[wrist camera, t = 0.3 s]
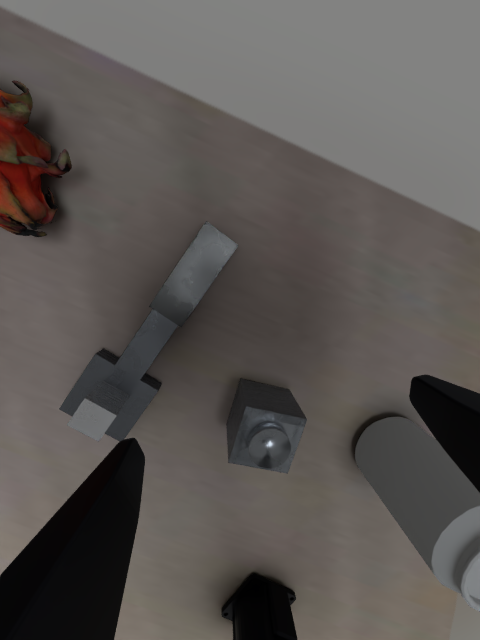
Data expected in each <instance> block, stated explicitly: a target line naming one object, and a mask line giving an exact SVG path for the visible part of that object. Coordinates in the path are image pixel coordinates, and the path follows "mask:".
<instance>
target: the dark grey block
mask: <svg viewBox="0 0 480 640" xmlns="http://www.w3.org/2000/svg"><path fill="white" fill-rule="evenodd" d="M306 421H307V418H306V417H305V415H304V413H303V412H302V410H301V408H300V407H299V405H298V403H297V402H296V400H295V398H294V397H293V395H292V393H291V391H290V390H289V389H285V388H281V387H276V386H272V385H268V384H263V383H259V382H255V381H250V380H246V379H242V378H240V381H239V384H238V388H237V391H236V394H235V398H234V401H233V404H232V408H231V411H230V414H229V418H228V421H227V424H226V425H227V444H228V463H233V464H238V465H244V466H249V467H255V468H260V469H266V470H271V471H277V472H282V473H288V471H289V468H290V465H291V463H292V460H293V457H294V454H295V452H296V449H297V446H298V443H299V441H300V438H301V435H302V432H303V430H304V427H305V424H306Z"/></svg>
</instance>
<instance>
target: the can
mask: <svg viewBox="0 0 480 640" xmlns="http://www.w3.org/2000/svg"><path fill="white" fill-rule="evenodd" d="M355 460H356V463H357V466H358V468H359V469H360V471H361V472H362V473H363V475H364V476H365V478H366V479H367V480H368V482H369V483H370V485H371V486H372V487H373V489H374V490H375V492H376V493H377V495H378V496H379V497H380V499H381V500H382V502H383V503H384V504H385V506H386V507H387V509H388V510H389V511H390V513H391V514H392V516H393V517H394V519H395V520H396V521H397V523H398V524H399V526H400V527H401V528H402V530H403V531H404V533H405V534H406V535H407V537H408V538H409V540H410V541H411V543H412V544H413V545H414V547H415V548H416V550H417V551H418V552H419V554H420V555H421V557H422V558H423V559H424V561H425V562H426V564H427V565H428V567H429V568H430V569H431V571H432V572H433V574H434V575H435V576H436V578H437V579H438V580H439V581H440V583H441V584H442V585H444V586H446V587H448V588H450V589H452V590H454V591H456V592H458V593H461V595H462V597H463V598H464V599H465V601H466V602H467V604H468V605H469V606H470V607H472V608H474V609H476V610H477V611H479V612H480V493H479V491H478V490H477V489H476V488H475V487H474V485H473V484H472V483H471V482H470V481H469V479H468V478H467V477H466V476H465V475H464V473H463V472H462V471H461V470H460V469H459V467H458V466H457V465H456V464H455V463H454V461H453V460H452V459H451V458H450V457H449V455H448V454H447V453H446V452H445V450H444V449H443V448H442V446H441V445H440V444H439V442H438V441H437V440H436V439H435V438H433V437H432V436H431V435H430V434H428V433H427V432H426V431H424V430H423V429H422V428H421V427H419V426H418V425H417V424H415V423H414V422H412V421H411V420H409V419H406V418H402V417H387V418H385V419H382V420H379V421H376V422H374V423H373V424H371V425H370V426H368V427H367V428H366V429H365V430H364V432H363V433H362V434H361V436H360V438H359V440H358V443H357V445H356V449H355Z"/></svg>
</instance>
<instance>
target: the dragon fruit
mask: <svg viewBox="0 0 480 640" xmlns="http://www.w3.org/2000/svg"><path fill="white" fill-rule="evenodd" d="M12 82H13V83H14V84H15V85H16V86H17V87H18V88H19V89H21V90H22V91H23V92H24V93H22V94H20V95H13V94H7V93H5V92H4V91H2V90H1V89H0V227H2V228H4V229H6V230H7V231H9V232H11V233H13V234H16V235H23V236H29V235H32V236H35V237H41V236H45V235H47V234H46V233H45V232H38V231H34V230H37V229H41V228H38V227H40V226H42V225H43V224H48V223H50V222H51V220H52V219H53V217H54V214H55V212H56V210H57V209H58V207H57V206H56V205H55V203H54V197H53V194H52V193H51V191H50V189H49V187H48V192H49V193H48V194H49V195H50V197H49V196H48V195H47V194H45V196H46V201H45V197H44V195H43V193H42V190H41V178H40V175H41V174H43V173H47V174H48V175H50V176H53V177H57V178H62V176H58V175H63V174H65V173H67V172H69V171H70V169H71V168H72V165H71V161H70V157H69V154H68V152H67V150H66V149H64V150H63V151H62V152H61V153H60V155H59V157H58V160H57V161H56V162H55V163H46V162H45V161H49V160H50V159H51V145H50V144H49V143H48V142H47V141H45V140H44V139H43V138H42V137H41V136H40V135H38V134H37V133H34V132H31V131H30V130H29V129H27V128H26V127H25V126H24V124H27V123H28V121H29V116H30V114H31V112H30V111H31V109H32V98H31V95H30V93H29V90H28V88H26V86H25V85H24V84H22V83H21V82H18V81H12ZM46 202H47V203H46ZM55 222H56V221H55ZM21 223H24V224H27V225H28V226H30V227H31V228H32V229H33V230H28V229H27V227H25V226H24V225H22V224H21ZM40 223H41V224H40ZM51 223H53V222H51Z"/></svg>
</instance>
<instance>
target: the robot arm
mask: <svg viewBox="0 0 480 640" xmlns="http://www.w3.org/2000/svg"><path fill="white" fill-rule="evenodd" d="M409 397H410V401H411V403H412V405H413V406H414V408H415V409H416V411H417V412H418V414H419V415H420V417H421V418H422V419H423V421H424V422H425V424H426V425H427V427H428V428H429V429H430V431H431V432H432V434H433V435H434V437H435V438H436V440H437V441H438V442H439V444H440V445H441V446H442V448H443V449H444V450H445V452H446V453H447V454H448V455H449V457H450V458H451V459H452V460H453V461H454V463H455V464H456V465H457V466H458V467H459V469H460V470H461V471H462V472H463V473H464V475H465V476H466V477H467V478H468V479H469V481H470V482H471V483H472V484H473V485H474V487H475V488H476V489H477V490H478V491H479V493H480V394H479V393H477V392H474V391H471V390H468V389H466V388H463V387H460V386H457V385H455V384H452V383H449V382H446V381H444V380H441V379H438V378H435V377H433V376H430V375H421V376H416V377H413V379H412V381H411V388H410V395H409ZM144 466H145V456H144V453H143V451H142V449H141V448H140V446H139V444H138V442H137V440H136V439H135V438H129V439H124V440H121V441H120V442H119V443H118V444H117V445H116V446H115V447H114V448H113V450H112V451H111V452H110V453H109V454H108V455H107V456H106V457H105V459H104V460H103V461H102V462H101V463H100V464H99V465H98V466H97V468H96V469H95V470H94V471H93V472H92V473H91V474H90V475H89V476H88V478H87V479H86V480H85V481H84V482H83V483H82V484H81V485H80V487H79V488H78V489H77V490H76V491H75V492H74V493H73V494H72V495H71V497H70V498H69V499H68V500H67V501H66V502H65V503H64V504H63V506H62V507H61V508H60V509H59V510H58V511H57V512H56V513H55V515H54V516H53V517H52V518H51V519H50V520H49V521H48V522H47V523H46V525H45V526H44V527H43V528H42V529H41V530H40V531H39V532H38V534H37V535H36V536H35V537H34V538H33V539H32V540H31V541H30V542H29V544H28V545H27V546H26V547H25V548H24V549H23V550H22V551H21V553H20V554H19V555H18V556H17V557H16V558H15V559H14V560H13V562H12V563H11V564H10V565H9V566H8V567H7V568H6V569H5V570H4V572H3V573H2V574H1V575H0V640H114V637H115V632H116V627H117V622H118V617H119V612H120V607H121V603H122V598H123V593H124V588H125V583H126V578H127V573H128V568H129V563H130V558H131V554H132V549H133V544H134V539H135V534H136V529H137V524H138V518H139V512H140V503H141V494H142V485H143V475H144ZM295 600H296V596H295V593H294V592H293V591H291V590H289V589H287V588H285V587H283V586H280V585H278V584H276V583H274V582H272V581H270V580H268V579H266V578H263V577H261V576H259V575H257V574H251V575H250V576H249V577H248V579H247V580H246V581H245V582H244V583H243V584H242V586H241V587H240V588H239V589H238V590H237V591H236V593H235V594H234V595H233V596H232V597H231V599H230V600H229V601H228V602H227V603H226V604H225V606H224V607H223V608H222V617H224V618H226V619H229V620H231V621H233V640H297V635H296V630H295V626H294V621H293V616H292V612H291V607H290V605H291V604H292V603H293V602H294V601H295Z"/></svg>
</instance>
